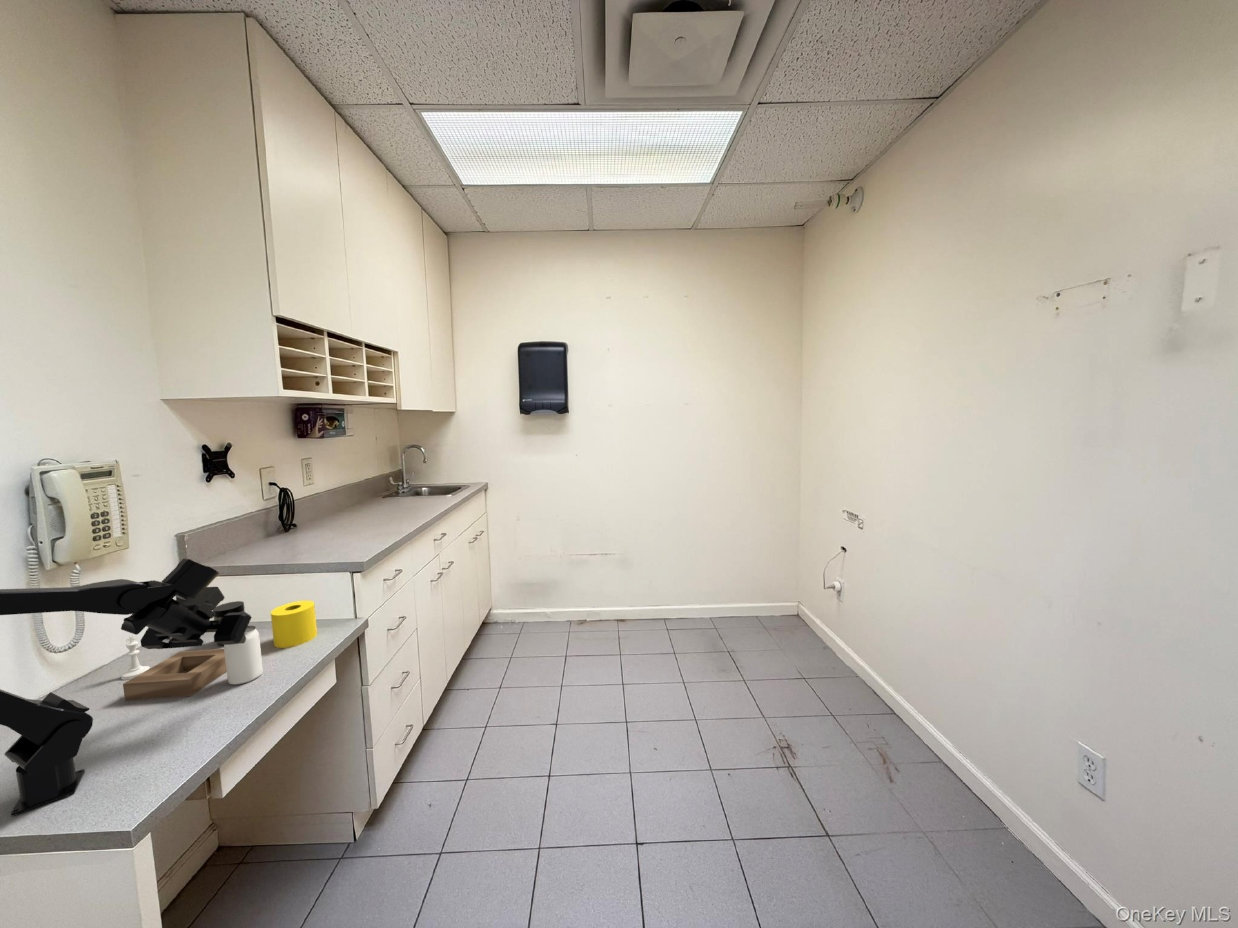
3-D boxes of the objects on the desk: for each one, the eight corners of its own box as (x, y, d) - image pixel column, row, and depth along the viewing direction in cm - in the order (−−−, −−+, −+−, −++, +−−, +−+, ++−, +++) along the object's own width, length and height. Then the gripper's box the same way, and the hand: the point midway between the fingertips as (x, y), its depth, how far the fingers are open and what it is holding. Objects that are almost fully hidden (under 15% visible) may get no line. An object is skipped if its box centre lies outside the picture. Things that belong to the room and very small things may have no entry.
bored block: (191, 695, 99) (189, 679, 98) (125, 700, 98) (122, 683, 97) (239, 662, 113) (238, 647, 112) (182, 666, 111) (180, 651, 111)
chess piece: (118, 676, 107) (112, 638, 106) (146, 666, 112) (141, 629, 111) (125, 681, 105) (119, 642, 104) (153, 671, 109) (148, 633, 108)
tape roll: (283, 651, 118) (279, 618, 117) (267, 642, 123) (264, 610, 122) (323, 635, 126) (320, 604, 125) (307, 627, 131) (304, 598, 131)
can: (242, 686, 102) (237, 638, 100) (220, 684, 103) (215, 636, 102) (269, 671, 108) (264, 625, 107) (249, 669, 109) (244, 623, 108)
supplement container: (234, 646, 121) (230, 610, 120) (209, 647, 121) (205, 611, 120) (253, 634, 128) (250, 600, 127) (230, 635, 128) (226, 601, 127)
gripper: (239, 577, 93) (280, 605, 105) (146, 582, 91) (198, 610, 103) (213, 630, 86) (260, 653, 98) (111, 636, 84) (172, 659, 96)
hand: (223, 642), depth 99 cm, fingers open, 9 cm apart
